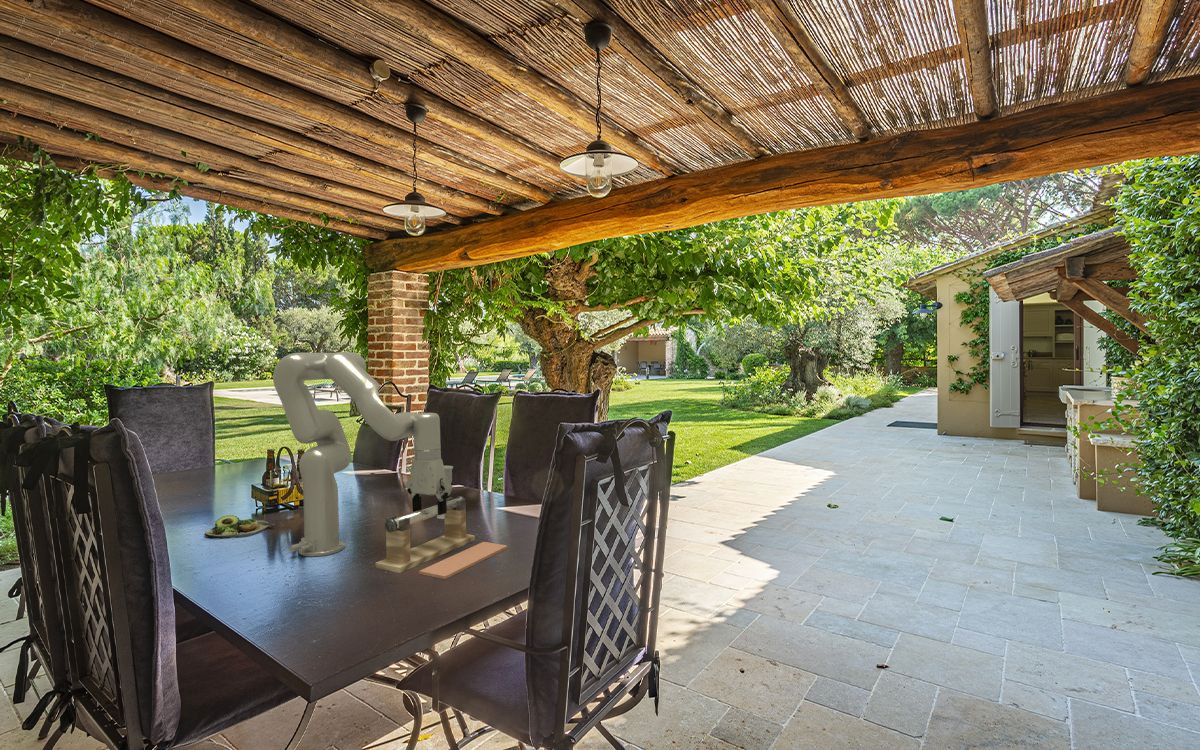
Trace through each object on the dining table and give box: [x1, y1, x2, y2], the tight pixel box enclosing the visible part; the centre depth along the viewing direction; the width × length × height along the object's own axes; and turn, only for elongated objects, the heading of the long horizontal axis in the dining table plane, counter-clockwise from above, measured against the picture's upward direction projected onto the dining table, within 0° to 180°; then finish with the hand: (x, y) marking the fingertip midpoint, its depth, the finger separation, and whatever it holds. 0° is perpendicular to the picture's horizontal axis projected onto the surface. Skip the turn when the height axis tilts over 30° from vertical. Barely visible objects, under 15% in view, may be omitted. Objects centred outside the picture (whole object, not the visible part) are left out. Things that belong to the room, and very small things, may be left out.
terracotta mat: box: [418, 541, 509, 580], centre depth 173 cm, size 28×9×1 cm, turn 153°
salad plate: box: [204, 514, 276, 539], centre depth 203 cm, size 19×18×5 cm
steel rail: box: [384, 495, 465, 533], centre depth 179 cm, size 30×4×4 cm, turn 153°
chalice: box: [436, 465, 454, 520], centre depth 218 cm, size 7×7×18 cm
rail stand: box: [375, 496, 476, 574], centre depth 179 cm, size 32×9×14 cm, turn 153°
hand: (429, 512), depth 179 cm, fingers open, 9 cm apart
